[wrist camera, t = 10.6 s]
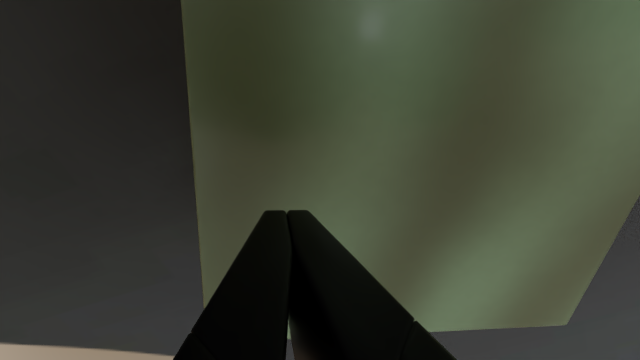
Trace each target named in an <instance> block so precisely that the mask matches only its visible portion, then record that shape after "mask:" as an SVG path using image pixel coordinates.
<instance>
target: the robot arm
mask: <svg viewBox="0 0 640 360" xmlns="http://www.w3.org/2000/svg"><path fill="white" fill-rule="evenodd" d="M288 321H289V329H290V335H291V341H292V346H293V352H294V357H295V360H457V359H456V358H455V357H454V356H452V355H451V354H450V353H449V352H448V351H447V350H446V349H445V348H444V347H443V346H442V345H441V344H440V343H439V342H438V341H437V340H436V339H435V338H434V337H433V336H432V335H431V334H430V333H429V332H428V331H427V330H426V329H425V328H424V327H423V326H422V325H421V324H420V323H419V322H418V321H414V317H413V316H412V315H411V314H410V313H409V312H408V311H407V310H406V309H405V308H404V307H403V306H402V305H401V304H400V303H399V302H398V301H397V300H396V299H395V298H394V297H393V296H392V295H391V294H390V293H389V292H388V291H387V290H386V289H385V288H384V287H383V286H382V285H381V284H380V283H379V282H378V281H377V280H376V278H375V277H374V276H373V275H372V274H371V273H370V272H369V271H368V270H367V269H366V268H365V267H364V266H363V265H362V264H361V263H360V262H359V261H358V260H357V259H356V258H355V257H354V256H353V255H352V254H351V253H350V252H349V251H348V250H347V249H346V248H345V247H344V246H343V245H342V244H341V243H340V242H339V241H338V240H337V239H336V238H335V237H334V236H333V235H332V234H331V233H330V232H329V231H328V230H327V229H326V228H325V227H324V226H323V225H322V224H321V223H320V222H319V221H318V219H317V218H316V217H315V216H314V215H313V214H312V213H311V212H310V211H308V210H289V211H288V212H287V213H286V211H284V210H266V211H264V213H263V214H262V216H261V217H260V219H259V221H258V222H257V224H256V226H255V227H254V229H253V230H252V232H251V234H250V235H249V237H248V239H247V240H246V242H245V243H244V245H243V247H242V248H241V250H240V252H239V253H238V255H237V257H236V258H235V260H234V261H233V263H232V265H231V266H230V268H229V270H228V271H227V273H226V275H225V276H224V278H223V279H222V281H221V283H220V284H219V286H218V288H217V289H216V291H215V293H214V294H213V296H212V297H211V299H210V301H209V302H208V304H207V306H206V307H205V309H204V310H203V312H202V314H201V315H200V317H199V319H198V320H197V322H196V324H195V325H194V327H193V328H192V331H191V333H190V334H189V335H188V336H187V338H186V339H185V341H184V343H183V344H182V346H181V348H180V349H179V351H178V353H177V354H176V356H175V357H174V359H173V360H286V347H287V333H288Z"/></svg>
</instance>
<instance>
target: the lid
mask: <svg viewBox="0 0 640 360" xmlns="http://www.w3.org/2000/svg"><path fill="white" fill-rule="evenodd" d="M181 11H182V24H183V38H184V51H185V64H186V78H187V91H188V104H189V118H190V131H191V144H192V158H193V171H194V184H195V197H196V211H197V224H198V237H199V251H200V264H201V277H202V291H203V304H204V309H205V307H206V306H207V304H208V302H209V301H210V299H211V297H212V296H213V294H214V293H215V291H216V289H217V288H218V286H219V284H220V283H221V281H222V279H223V278H224V276H225V275H226V273H227V271H228V270H229V268H230V266H231V265H232V263H233V261H234V260H235V258H236V257H237V255H238V253H239V252H240V250H241V248H242V247H243V245H244V243H245V242H246V240H247V239H248V237H249V235H250V234H251V232H252V230H253V229H254V227H255V226H256V224H257V222H258V221H259V219H260V217H261V216H262V214H263V213H264V211H266V210H284V211H286V213H287V212H288V211H289V210H308V211H310V212H311V213H312V214H313V215H314V216H315V217H316V218H317V219H318V221H319V222H320V223H321V224H322V225H323V226H324V227H325V228H326V229H327V230H328V231H329V232H330V233H331V234H332V235H333V236H334V237H335V238H336V239H337V240H338V241H339V242H340V243H341V244H342V245H343V246H344V247H345V248H346V249H347V250H348V251H349V252H350V253H351V254H352V255H353V256H354V257H355V258H356V259H357V260H358V261H359V262H360V263H361V264H362V265H363V266H364V267H365V268H366V269H367V270H368V271H369V272H370V273H371V274H372V275H373V276H374V277H375V278H376V280H377V281H378V282H379V283H380V284H381V285H382V286H383V287H384V288H385V289H386V290H387V291H388V292H389V293H390V294H391V295H392V296H393V297H394V298H395V299H396V300H397V301H398V302H399V303H400V304H401V305H402V306H403V307H404V308H405V309H406V310H407V311H408V312H409V313H410V314H411V315H412V316H413V317H414V321H418V322H419V323H420V324H421V325H422V326H423V327H424V328H425V329H426V330H427V331H428V332H438V331H458V330H478V329H497V328H517V327H536V326H556V325H566V324H567V323H568V321H569V319H570V318H571V316H572V314H573V312H574V310H575V309H576V307H577V305H578V303H579V302H580V300H581V298H582V296H583V295H584V293H585V291H586V289H587V287H588V286H589V284H590V282H591V280H592V279H593V277H594V275H595V273H596V271H597V270H598V268H599V266H600V264H601V263H602V261H603V259H604V257H605V256H606V254H607V252H608V250H609V248H610V247H611V245H612V243H613V241H614V240H615V238H616V236H617V234H618V233H619V231H620V229H621V227H622V225H623V224H624V222H625V220H626V218H627V217H628V215H629V213H630V211H631V209H632V208H633V206H634V204H635V202H636V201H637V199H638V197H639V195H640V0H181ZM287 339H291V335H290V329H289V321H288V333H287Z"/></svg>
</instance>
